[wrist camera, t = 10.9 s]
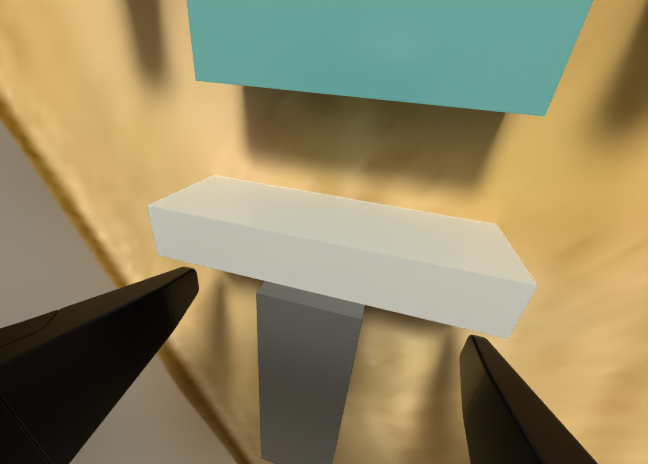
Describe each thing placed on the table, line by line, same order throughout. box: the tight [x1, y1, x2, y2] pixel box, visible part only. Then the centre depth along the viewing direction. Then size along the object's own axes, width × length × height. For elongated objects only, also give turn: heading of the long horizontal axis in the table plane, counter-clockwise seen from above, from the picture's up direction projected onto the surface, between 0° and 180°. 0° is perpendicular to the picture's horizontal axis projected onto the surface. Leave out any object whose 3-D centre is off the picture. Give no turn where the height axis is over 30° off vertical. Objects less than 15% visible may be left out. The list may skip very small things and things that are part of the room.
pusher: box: [147, 175, 538, 464], centre depth 10 cm, size 10×9×4 cm
